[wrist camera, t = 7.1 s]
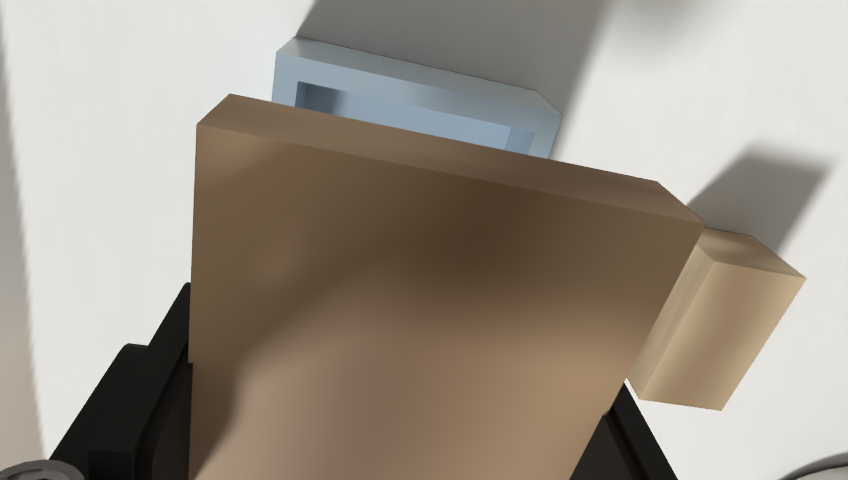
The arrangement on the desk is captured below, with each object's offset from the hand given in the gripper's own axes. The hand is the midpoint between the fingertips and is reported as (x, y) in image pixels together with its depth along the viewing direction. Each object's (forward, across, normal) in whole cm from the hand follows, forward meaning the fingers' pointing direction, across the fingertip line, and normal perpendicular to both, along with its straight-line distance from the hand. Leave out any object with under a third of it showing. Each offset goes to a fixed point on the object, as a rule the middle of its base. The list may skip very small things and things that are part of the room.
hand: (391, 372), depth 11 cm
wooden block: (+11, -14, +3) cm, 19 cm away
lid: (0, 0, 0) cm, 0 cm away
